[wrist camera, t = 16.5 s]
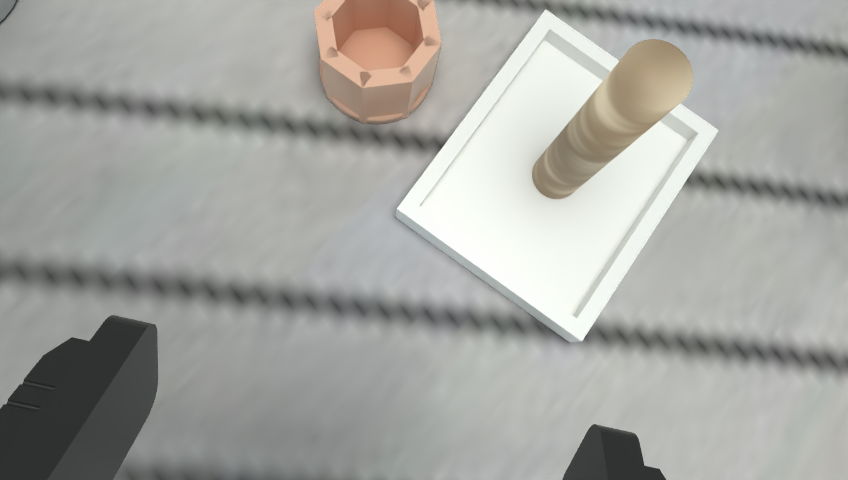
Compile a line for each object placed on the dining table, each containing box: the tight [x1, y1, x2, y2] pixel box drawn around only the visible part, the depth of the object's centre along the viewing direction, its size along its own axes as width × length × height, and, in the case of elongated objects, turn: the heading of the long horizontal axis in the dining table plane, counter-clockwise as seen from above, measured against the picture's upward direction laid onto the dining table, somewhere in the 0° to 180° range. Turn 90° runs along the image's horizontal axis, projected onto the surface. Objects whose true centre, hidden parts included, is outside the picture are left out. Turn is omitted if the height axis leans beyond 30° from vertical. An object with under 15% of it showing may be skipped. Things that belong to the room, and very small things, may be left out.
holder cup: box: [314, 0, 442, 124], centre depth 43 cm, size 8×8×6 cm
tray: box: [395, 10, 719, 342], centre depth 45 cm, size 14×17×2 cm
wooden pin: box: [532, 39, 693, 199], centre depth 37 cm, size 3×3×16 cm
